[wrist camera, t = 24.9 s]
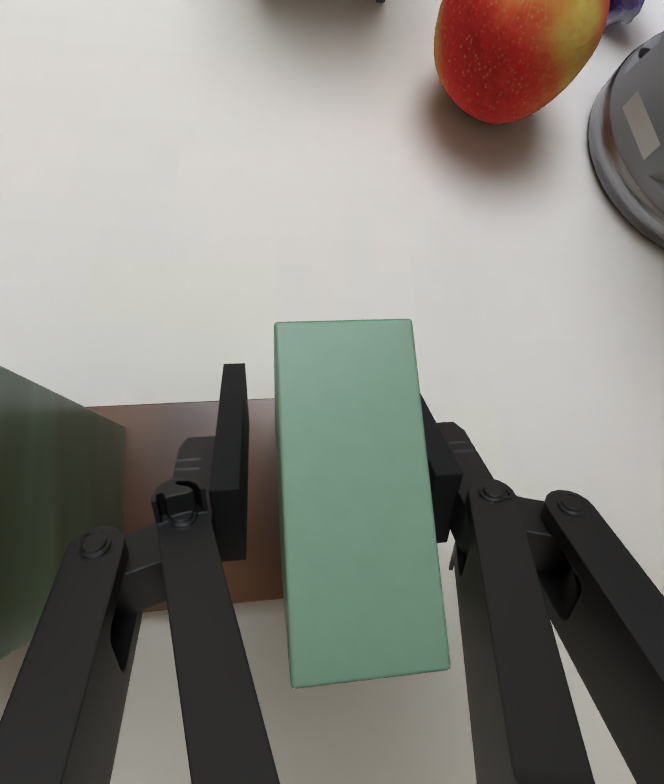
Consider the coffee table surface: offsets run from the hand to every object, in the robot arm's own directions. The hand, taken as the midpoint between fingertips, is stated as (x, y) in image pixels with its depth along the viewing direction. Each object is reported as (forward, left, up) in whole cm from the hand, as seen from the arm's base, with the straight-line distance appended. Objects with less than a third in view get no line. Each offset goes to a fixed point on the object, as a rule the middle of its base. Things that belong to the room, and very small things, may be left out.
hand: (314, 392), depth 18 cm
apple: (-12, -19, -6) cm, 23 cm away
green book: (0, +4, -5) cm, 6 cm away
